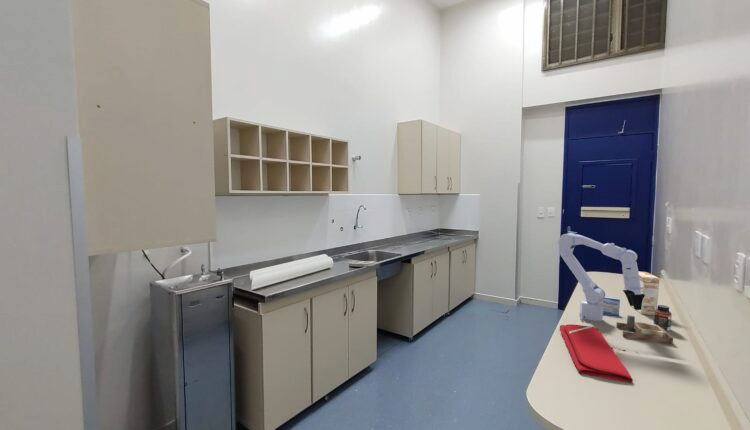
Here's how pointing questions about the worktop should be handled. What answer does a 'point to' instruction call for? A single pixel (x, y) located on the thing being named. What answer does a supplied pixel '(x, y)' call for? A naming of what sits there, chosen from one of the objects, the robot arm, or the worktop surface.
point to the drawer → (644, 327)
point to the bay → (645, 335)
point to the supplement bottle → (662, 317)
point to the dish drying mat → (593, 353)
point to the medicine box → (611, 306)
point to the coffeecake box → (649, 292)
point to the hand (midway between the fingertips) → (635, 307)
